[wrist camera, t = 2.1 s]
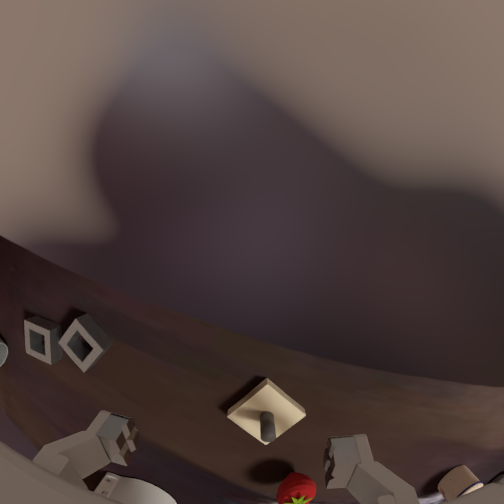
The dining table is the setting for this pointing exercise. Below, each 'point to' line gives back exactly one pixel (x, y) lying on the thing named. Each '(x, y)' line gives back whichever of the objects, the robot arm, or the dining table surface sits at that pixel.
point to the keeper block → (266, 412)
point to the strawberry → (296, 489)
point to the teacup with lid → (458, 483)
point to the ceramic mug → (3, 352)
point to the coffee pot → (499, 479)
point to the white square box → (33, 339)
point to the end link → (91, 335)
